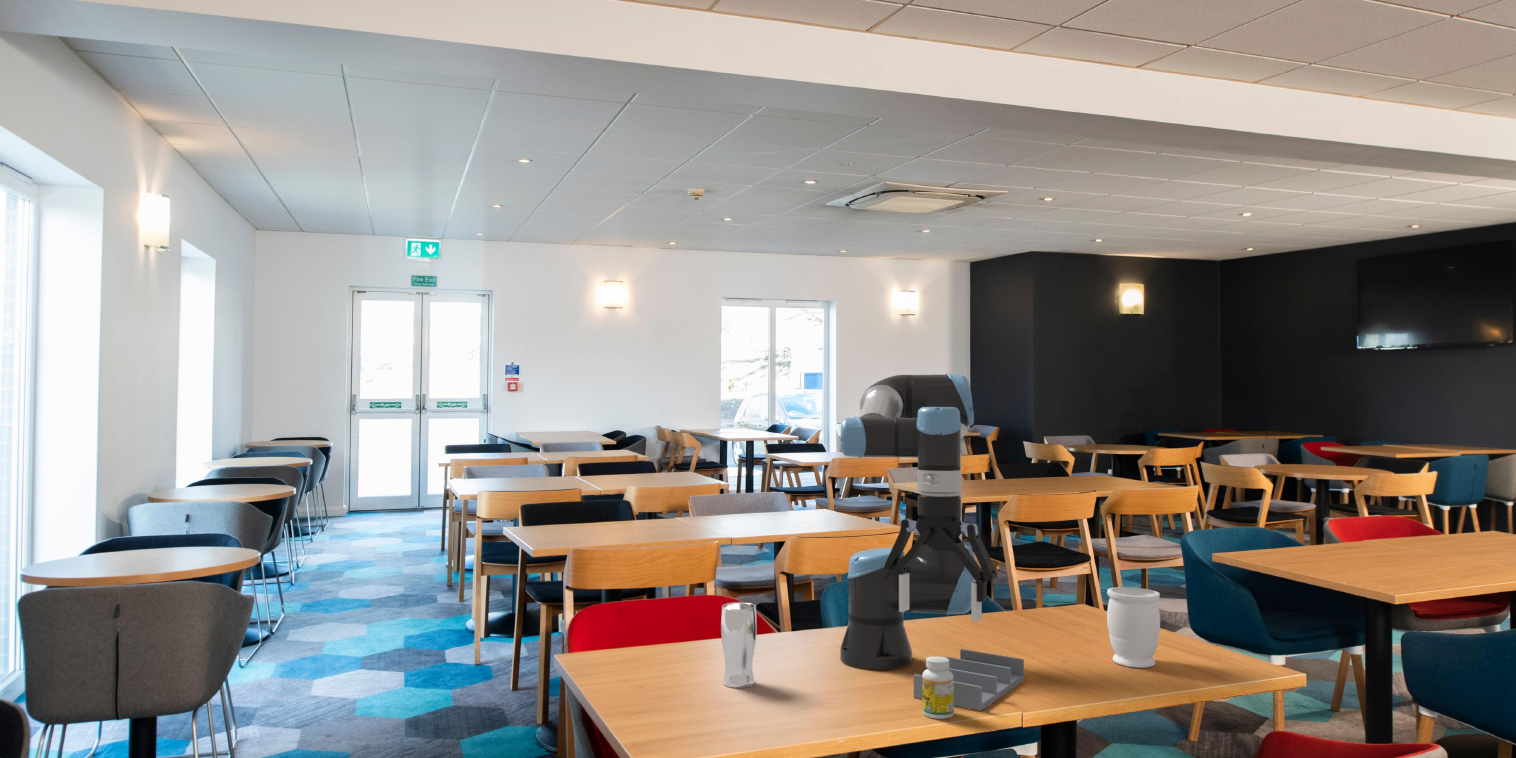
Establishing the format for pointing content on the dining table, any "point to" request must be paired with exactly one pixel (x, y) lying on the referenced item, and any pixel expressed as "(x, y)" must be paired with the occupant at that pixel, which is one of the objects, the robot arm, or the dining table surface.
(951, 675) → the supplement bottle
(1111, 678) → the dining table surface
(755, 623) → the beer glass
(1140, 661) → the jar
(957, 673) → the rack
